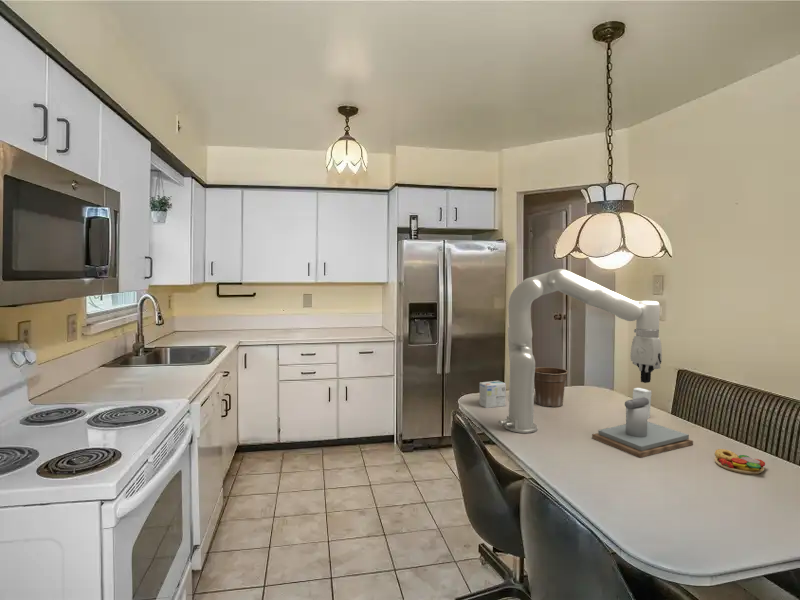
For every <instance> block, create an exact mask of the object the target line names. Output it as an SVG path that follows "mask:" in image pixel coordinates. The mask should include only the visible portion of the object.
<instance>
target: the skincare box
mask: <svg viewBox="0 0 800 600" xmlns="http://www.w3.org/2000/svg"><path fill="white" fill-rule="evenodd" d="M643 397H645V398H647V399H648V400H649V404H648V405H646V407H647V408H648V419H650V418H651V417H650V416H651V403H652V390H651V389H647V388H642V387H634V388H633V389H632V399H638V398H643Z"/></svg>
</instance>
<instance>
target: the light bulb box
mask: <svg viewBox="0 0 800 600" xmlns="http://www.w3.org/2000/svg"><path fill="white" fill-rule="evenodd" d="M506 386H507V384H506V382H503V381H500V380H493V381H492V380H491V381H483V382H481V381H480V382H479V405H480V406H482V407H484V408H485V409H490V408H498V407H505V406H506V403H507V402H506V401H507V400H506V398H507V395H506V392H507V390H506V389H507V387H506Z"/></svg>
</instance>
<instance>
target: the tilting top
mask: <svg viewBox="0 0 800 600" xmlns="http://www.w3.org/2000/svg"><path fill="white" fill-rule="evenodd" d="M648 404H649V400H648V399H647V398H645V397H643V398H638V399H633V398H632V399H628V400H625V402H624V407H625V424H621V425H617V426H616V425H615V426H612V427H607V428H603V429H599V430H598V431H597V433H598V434H599V435H602V436H604V437H607V438H609V439H612V440H615V441H617V442H620V443H622V444H625V445H627V446H630V447H632V448H635V449H638V450H640V451H644V450H647V449H651V448H655V447H659V446H663V445H667V444H670V443H674V442H678V441H682V440H686V439H689V440H690V437H689V436H690V435H689V434H688V433H684V432H681V431H678V430H675V429H672V428H669V427H666V426H663V425H660V424H656V423H653V422H650V421H649V420H648V419H649V418H648V408H647V407H646V405H648Z"/></svg>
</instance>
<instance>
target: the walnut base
mask: <svg viewBox="0 0 800 600" xmlns="http://www.w3.org/2000/svg"><path fill="white" fill-rule="evenodd" d="M591 436H592V438H591V439H593V440H595V441H598V442H600V441H601V443H603V444H606V445H607V446H610V447H613V448H615V449H618V450H620V451H623V452H625V453H628V454H630V455H632V456H635V457H637V458H645V457H649V456H652V455H656V454H661V453H665V452H669V451H674V450H676V449H681V448H686V447H691V446H693V445H694V440H692V439H690V438H689V439H686V440H682V441H678V442H674V443H670V444H667V445H663V446H659V447H655V448H651V449H647V450H644V451H640V450H638V449H635V448H632V447H630V446H627V445H625V444H622V443H620V442H617V441H615V440H612V439H609V438H607V437H604V436H602V435H599V434H598V432H597V433H593V434H592V435H591Z"/></svg>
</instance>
